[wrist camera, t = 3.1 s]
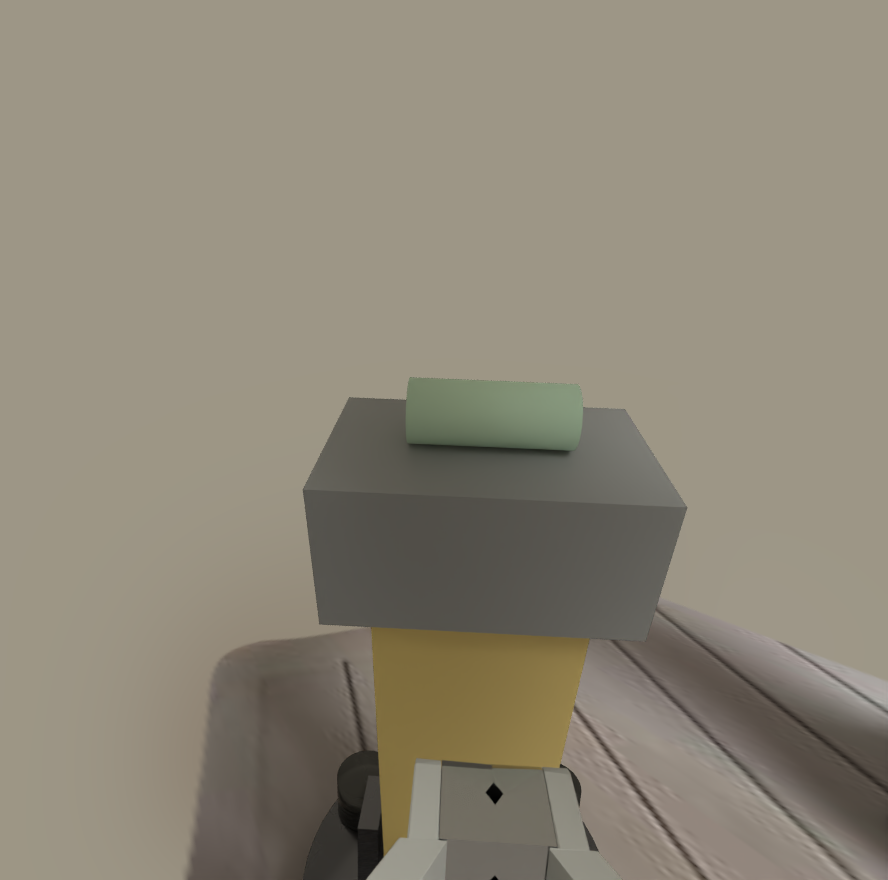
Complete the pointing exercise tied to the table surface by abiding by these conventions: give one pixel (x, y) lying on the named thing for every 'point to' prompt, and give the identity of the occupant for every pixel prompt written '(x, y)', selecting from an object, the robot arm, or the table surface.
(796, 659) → the table surface
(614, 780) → the table surface
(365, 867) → the levelling base
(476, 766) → the robot arm
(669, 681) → the table surface
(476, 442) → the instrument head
